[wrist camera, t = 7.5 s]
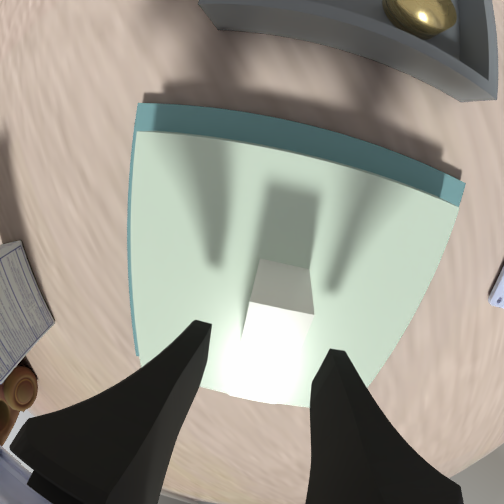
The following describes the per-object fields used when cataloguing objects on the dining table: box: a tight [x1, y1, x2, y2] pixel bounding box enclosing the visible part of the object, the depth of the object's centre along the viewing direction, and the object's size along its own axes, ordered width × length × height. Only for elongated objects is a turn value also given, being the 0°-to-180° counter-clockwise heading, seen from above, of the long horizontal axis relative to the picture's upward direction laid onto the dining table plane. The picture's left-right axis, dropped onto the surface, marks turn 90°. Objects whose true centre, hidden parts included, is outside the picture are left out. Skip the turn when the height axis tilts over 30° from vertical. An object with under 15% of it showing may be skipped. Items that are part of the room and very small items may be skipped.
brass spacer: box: [382, 0, 457, 40], centre depth 6 cm, size 3×3×2 cm
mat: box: [127, 103, 466, 356], centre depth 14 cm, size 16×16×1 cm
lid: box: [131, 131, 459, 408], centre depth 11 cm, size 13×13×5 cm
